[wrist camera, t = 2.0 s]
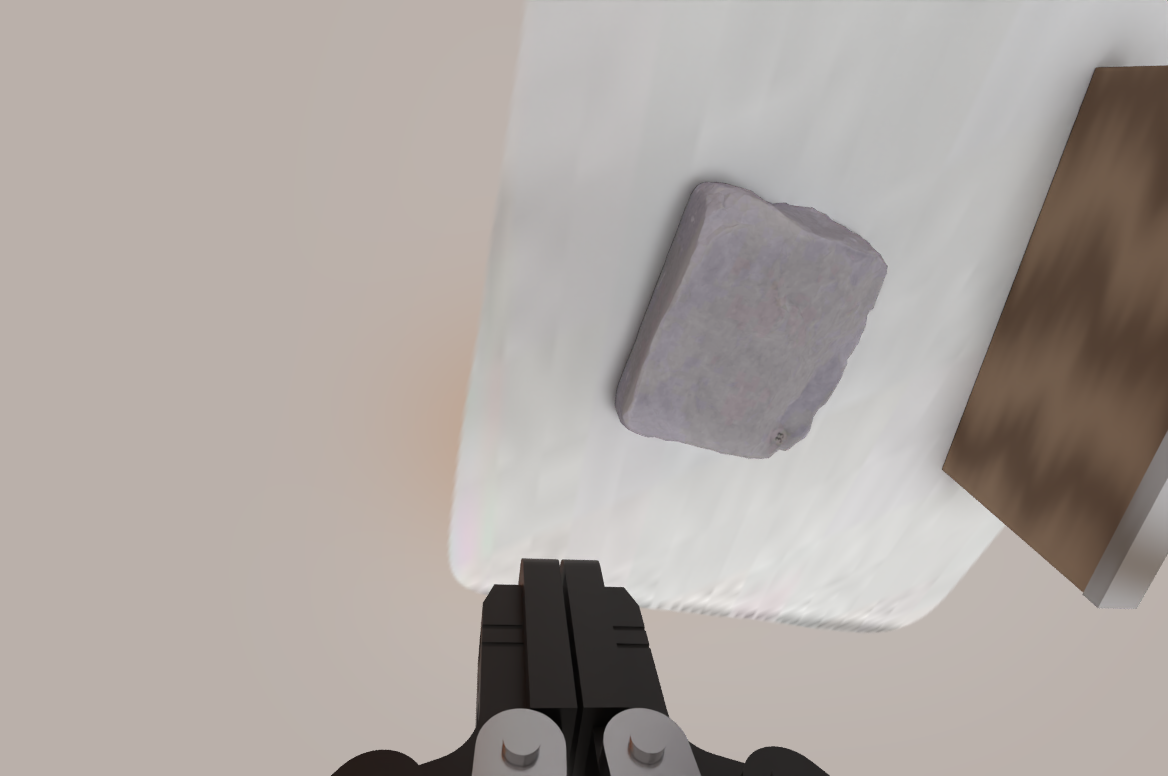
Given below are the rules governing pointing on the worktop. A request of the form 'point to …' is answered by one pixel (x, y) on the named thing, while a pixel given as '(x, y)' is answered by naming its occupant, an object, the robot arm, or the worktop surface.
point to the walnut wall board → (1086, 357)
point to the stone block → (747, 324)
